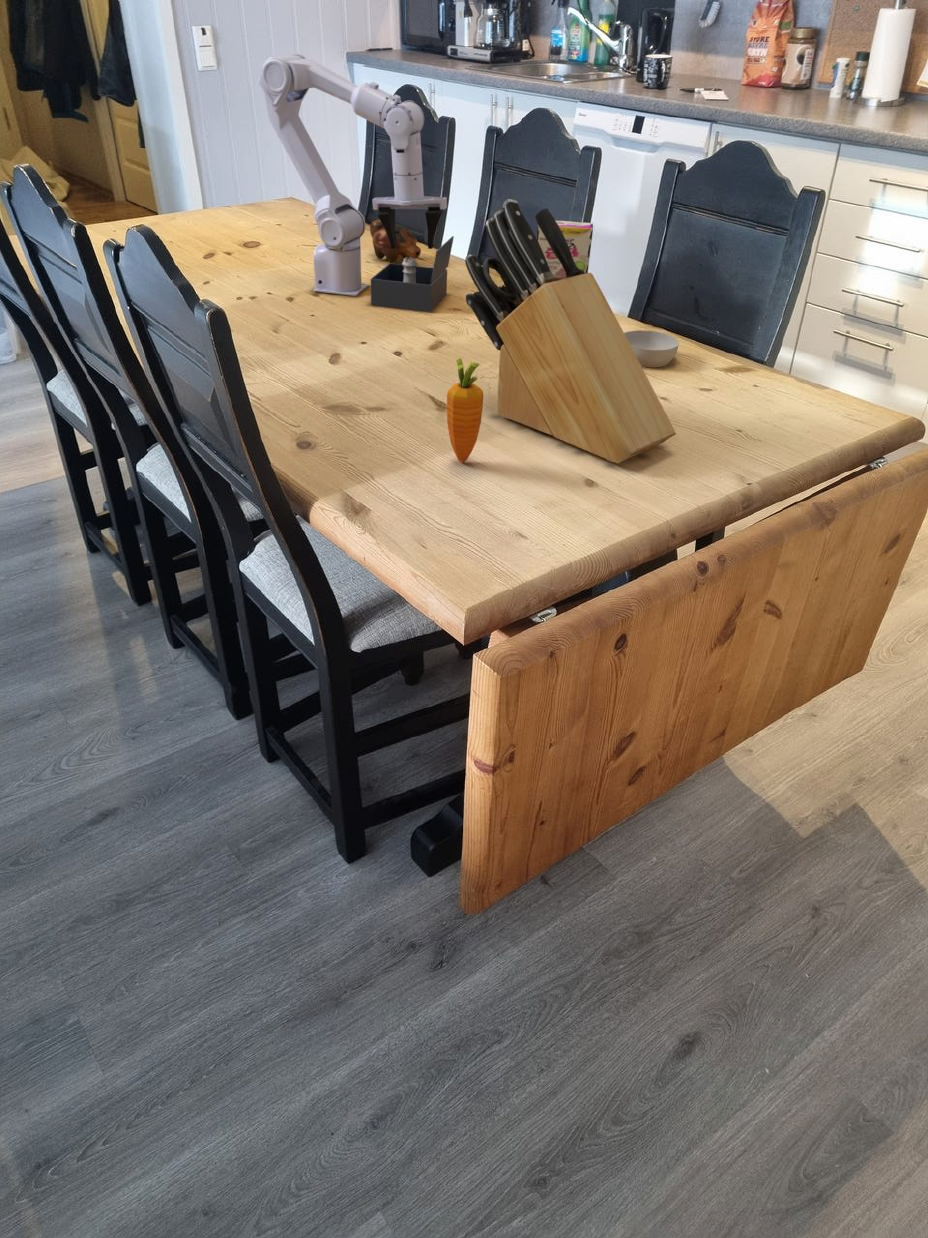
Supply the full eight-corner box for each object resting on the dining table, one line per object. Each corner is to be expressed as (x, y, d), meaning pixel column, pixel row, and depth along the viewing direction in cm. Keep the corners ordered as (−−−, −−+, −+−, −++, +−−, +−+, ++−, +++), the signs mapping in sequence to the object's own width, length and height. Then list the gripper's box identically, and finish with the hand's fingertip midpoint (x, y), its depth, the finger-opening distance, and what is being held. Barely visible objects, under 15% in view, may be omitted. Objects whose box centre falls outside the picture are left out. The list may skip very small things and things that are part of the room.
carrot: (443, 455, 133) (446, 352, 125) (478, 455, 134) (483, 352, 125) (446, 470, 129) (449, 365, 121) (481, 470, 130) (487, 365, 121)
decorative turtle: (381, 249, 225) (384, 214, 220) (431, 266, 218) (434, 230, 214) (355, 255, 218) (357, 219, 213) (405, 272, 211) (408, 235, 207)
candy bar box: (530, 308, 192) (536, 223, 182) (531, 300, 196) (537, 218, 186) (584, 311, 191) (593, 227, 182) (584, 304, 195) (593, 221, 186)
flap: (446, 265, 194) (448, 266, 194) (430, 281, 184) (432, 282, 184) (452, 235, 190) (453, 236, 190) (436, 250, 180) (437, 250, 180)
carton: (446, 295, 197) (447, 269, 194) (430, 312, 187) (431, 285, 184) (389, 288, 199) (389, 263, 196) (371, 305, 189) (370, 278, 186)
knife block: (501, 382, 157) (513, 184, 139) (674, 451, 137) (714, 230, 119) (453, 398, 150) (460, 192, 133) (628, 473, 131) (663, 243, 113)
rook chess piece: (423, 297, 194) (424, 257, 190) (415, 302, 191) (416, 262, 186) (403, 294, 195) (403, 254, 191) (395, 300, 192) (395, 259, 187)
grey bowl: (667, 373, 164) (670, 352, 161) (570, 355, 169) (573, 334, 167) (682, 355, 172) (685, 334, 169) (589, 338, 178) (592, 318, 175)
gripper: (366, 177, 177) (372, 251, 185) (440, 176, 175) (443, 252, 182) (375, 171, 183) (381, 243, 191) (447, 170, 181) (450, 244, 188)
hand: (412, 247), depth 187 cm, fingers open, 7 cm apart
